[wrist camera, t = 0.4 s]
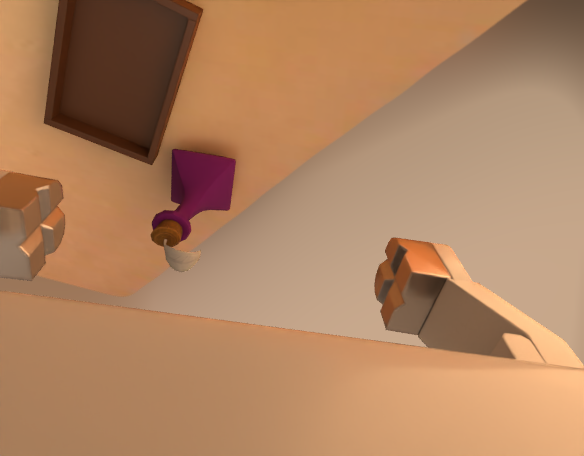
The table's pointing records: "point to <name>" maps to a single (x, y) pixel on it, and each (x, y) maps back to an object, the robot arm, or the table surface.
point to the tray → (119, 70)
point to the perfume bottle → (192, 200)
